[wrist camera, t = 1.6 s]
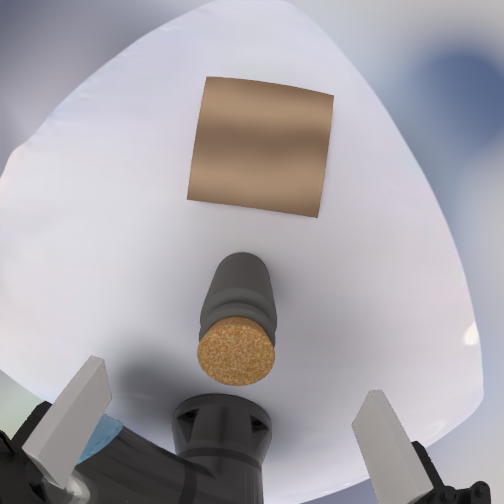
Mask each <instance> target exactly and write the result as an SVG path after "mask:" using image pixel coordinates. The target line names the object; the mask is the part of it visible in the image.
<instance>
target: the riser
mask: <svg viewBox="0 0 504 504" xmlns="http://www.w3.org/2000/svg"><path fill="white" fill-rule="evenodd" d="M333 100H334V96H333V95H329V94H325V93H321V92H317V91H312V90H308V89H303V88H298V87H292V86H287V85H281V84H275V83H268V82H261V81H254V80H245V79H235V78H223V77H206V82H205V87H204V92H203V97H202V103H201V108H200V113H199V119H198V125H197V131H196V137H195V143H194V150H193V157H192V164H191V171H190V179H189V186H188V195H187V200H194V201H203V202H211V203H219V204H227V205H235V206H242V207H250V208H257V209H264V210H271V211H277V212H284V213H291V214H297V215H303V216H309V217H315V218H318V213H319V207H320V201H321V194H322V188H323V181H324V174H325V167H326V160H327V153H328V145H329V137H330V128H331V119H332V110H333Z"/></svg>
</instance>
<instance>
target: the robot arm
mask: <svg viewBox="0 0 504 504" xmlns="http://www.w3.org/2000/svg"><path fill="white" fill-rule="evenodd" d="M111 399H112V395H111V391H110V387H109V382H108V377H107V372H106V367H105V362H104V359H101V358H98V357H95V356H90V358H89V359H88V360H87V361H86V362H85V364H84V365H83V366H82V367H81V369H80V370H79V371H78V372H77V374H76V375H75V376H74V377H73V379H72V380H71V381H70V382H69V384H68V385H67V386H66V388H65V389H64V390H63V391H62V393H61V394H60V395H59V397H58V398H57V399H56V401H55V402H54V403H53V404H51V403H49V402H47V401H44V402H43V403H41V404H39V405H37V406H36V408H35V409H34V410H33V412H32V413H31V415H29V417H28V418H27V420H25V422H24V423H23V424H22V426H21V427H20V428H19V430H18V431H17V433H16V434H15V435H14V437H13V438H12V440H10V439H9V438H8V436H7V435H6V434H5V433H4V432H3V431H1V430H0V504H264V502H263V486H262V463H263V460H264V458H265V455H266V453H267V450H268V447H269V445H270V442H271V438H272V427H271V420H270V418H269V416H268V415H267V413H266V412H265V411H264V410H263V409H262V408H261V407H259V406H258V405H256V404H254V403H253V402H250V401H248V400H246V399H243V398H239V397H235V396H231V395H223V394H208V395H201V396H196V397H193V398H191V399H188V400H186V401H185V402H183V403H182V404H181V405H180V406H179V407H178V408H177V410H176V412H175V415H174V418H173V422H172V432H173V439H174V445H175V451H176V455H175V454H173V453H171V452H169V451H167V450H165V449H163V448H161V447H159V446H157V445H155V444H154V443H152V442H150V441H148V440H146V439H145V438H143V437H141V436H139V435H138V434H136V433H134V432H133V431H131V430H129V429H128V428H126V427H125V426H123V424H122V423H121V422H120V421H119V420H114V419H113V418H111V417H109V416H108V415H106V414H105V413H104V411H105V409H106V408H107V406H108V404H109V402H110V401H111ZM352 428H353V431H354V433H355V436H356V439H357V442H358V445H359V447H360V450H361V453H362V456H363V458H364V461H365V464H366V467H367V470H368V473H369V476H370V479H371V481H372V484H373V487H374V490H375V493H376V496H377V499H378V502H379V504H491V496H490V488H489V486H488V484H487V483H485V482H483V481H478V482H476V483H475V484H473V485H472V486H471V487H470V488H466V489H459V490H456V489H455V488H454V487H451V486H445V485H444V484H443V482H442V480H441V478H440V476H439V474H438V472H437V471H436V469H435V467H434V465H433V463H431V459H430V457H428V454H427V452H426V450H425V448H424V447H423V446H422V445H421V444H420V443H419V442H418V441H414V442H410V440H409V438H408V436H407V434H406V432H405V430H404V428H403V427H402V425H401V423H400V421H399V419H398V417H397V416H396V414H395V412H394V410H393V408H392V406H391V405H390V403H389V401H388V399H387V398H386V396H385V394H384V392H383V390H372V391H369V393H368V395H367V397H366V399H365V401H364V403H363V405H362V407H361V409H360V411H359V412H358V414H357V416H356V418H355V420H354V421H353V423H352Z"/></svg>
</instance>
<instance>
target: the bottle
mask: <svg viewBox="0 0 504 504" xmlns="http://www.w3.org/2000/svg"><path fill="white" fill-rule="evenodd" d="M200 324H201V329H200V333H199V346H198V352H197V357H198V361H199V364H200V366H201V368H202V369H203V370H204V371H205V373H206V374H207V375H208V376H210V377H211V378H212V379H214V380H216V381H218V382H220V383H223V384H226V385H232V386H243V385H249V384H252V383H255V382H257V381H259V380H261V379H262V378H264V377H265V376H266V375H267V374H268V373H269V372H270V370H271V369H272V366H273V364H274V360H275V352H274V346H275V331H276V327H277V315H276V308H275V303H274V298H273V293H272V288H271V283H270V279H269V274H268V271H267V268H266V266H265V265H264V263H263V262H262V261H261V260H260V259H259V258H258V257H256V256H254V255H252V254H249V253H235V254H232V255H230V256H228V257H226V258H225V259H224V260H223V261H222V262H221V263H220V264H219V266H218V268H217V270H216V273H215V275H214V278H213V280H212V283H211V285H210V288H209V291H208V293H207V296H206V299H205V301H204V304H203V307H202V311H201V316H200Z"/></svg>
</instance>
